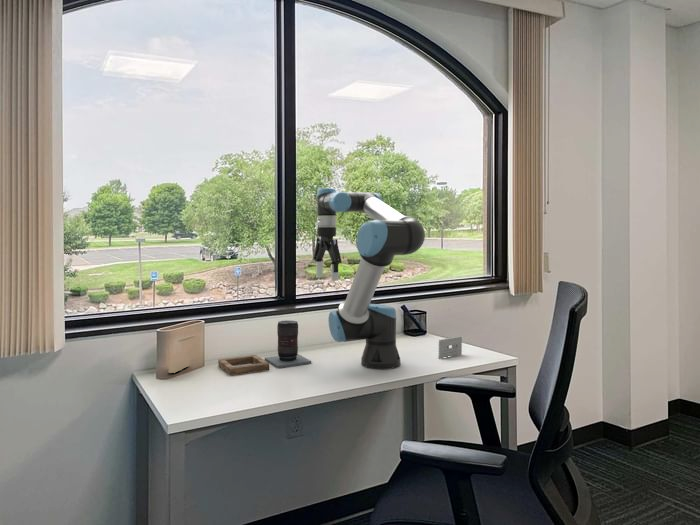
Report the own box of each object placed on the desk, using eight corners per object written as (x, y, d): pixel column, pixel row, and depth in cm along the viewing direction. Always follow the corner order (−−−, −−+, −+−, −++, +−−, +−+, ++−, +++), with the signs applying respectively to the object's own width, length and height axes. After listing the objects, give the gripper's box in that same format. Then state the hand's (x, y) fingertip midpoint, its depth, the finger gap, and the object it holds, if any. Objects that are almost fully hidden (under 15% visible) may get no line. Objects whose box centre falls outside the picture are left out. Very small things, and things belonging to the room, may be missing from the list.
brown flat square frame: (269, 370, 208) (269, 363, 208) (230, 375, 201) (230, 368, 201) (255, 360, 221) (255, 354, 221) (218, 365, 214) (218, 359, 214)
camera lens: (301, 360, 218) (301, 322, 217) (282, 363, 214) (282, 324, 213) (293, 355, 225) (292, 319, 224) (274, 358, 221) (274, 321, 220)
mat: (311, 363, 217) (311, 361, 217) (277, 368, 210) (277, 365, 210) (296, 355, 229) (296, 353, 229) (264, 360, 223) (264, 357, 223)
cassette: (440, 359, 224) (441, 340, 223) (437, 358, 225) (437, 339, 225) (462, 355, 230) (462, 336, 230) (459, 354, 232) (459, 336, 231)
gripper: (305, 226, 234) (305, 276, 236) (332, 227, 212) (333, 282, 214) (321, 225, 238) (321, 275, 240) (350, 227, 216) (350, 281, 218)
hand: (327, 279), depth 227 cm, fingers open, 13 cm apart
